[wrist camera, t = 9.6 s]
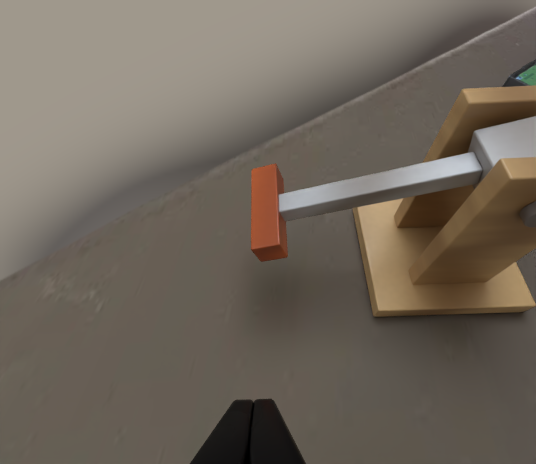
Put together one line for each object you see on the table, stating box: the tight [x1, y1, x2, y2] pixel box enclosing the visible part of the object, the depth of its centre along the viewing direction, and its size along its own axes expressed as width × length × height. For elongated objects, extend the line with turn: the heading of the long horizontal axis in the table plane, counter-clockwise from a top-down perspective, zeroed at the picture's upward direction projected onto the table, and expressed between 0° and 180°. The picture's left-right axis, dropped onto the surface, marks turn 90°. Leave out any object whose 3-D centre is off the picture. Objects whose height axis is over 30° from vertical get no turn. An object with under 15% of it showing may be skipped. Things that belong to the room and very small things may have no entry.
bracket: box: [353, 86, 536, 317], centre depth 17 cm, size 9×8×11 cm
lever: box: [251, 116, 536, 262], centre depth 15 cm, size 13×5×2 cm, turn 92°
